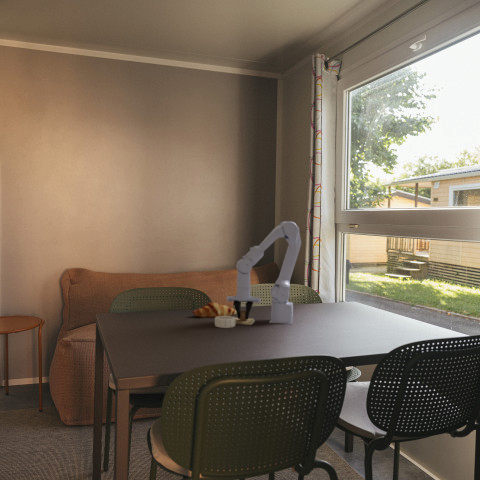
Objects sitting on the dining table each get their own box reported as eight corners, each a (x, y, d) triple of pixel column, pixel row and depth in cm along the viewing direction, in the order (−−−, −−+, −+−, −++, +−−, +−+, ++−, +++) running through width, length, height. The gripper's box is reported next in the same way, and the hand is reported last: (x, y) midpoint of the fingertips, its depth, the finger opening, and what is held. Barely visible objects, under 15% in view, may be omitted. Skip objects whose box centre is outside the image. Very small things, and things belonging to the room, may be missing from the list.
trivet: (255, 321, 197) (255, 320, 197) (251, 325, 189) (251, 324, 189) (234, 320, 199) (234, 319, 199) (230, 324, 191) (230, 323, 191)
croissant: (235, 321, 213) (233, 305, 216) (241, 315, 205) (239, 298, 208) (191, 323, 206) (189, 306, 210) (195, 316, 198) (194, 299, 201)
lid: (253, 320, 197) (254, 309, 197) (250, 324, 189) (250, 313, 189) (236, 319, 198) (236, 308, 198) (232, 323, 191) (232, 312, 190)
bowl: (237, 324, 190) (237, 316, 190) (232, 329, 182) (232, 320, 182) (217, 323, 192) (218, 315, 192) (212, 327, 184) (212, 319, 184)
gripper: (261, 286, 196) (261, 317, 196) (229, 285, 199) (228, 315, 199) (259, 289, 189) (258, 321, 189) (225, 287, 192) (225, 319, 192)
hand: (243, 318), depth 194 cm, fingers closed on lid, 3 cm apart
